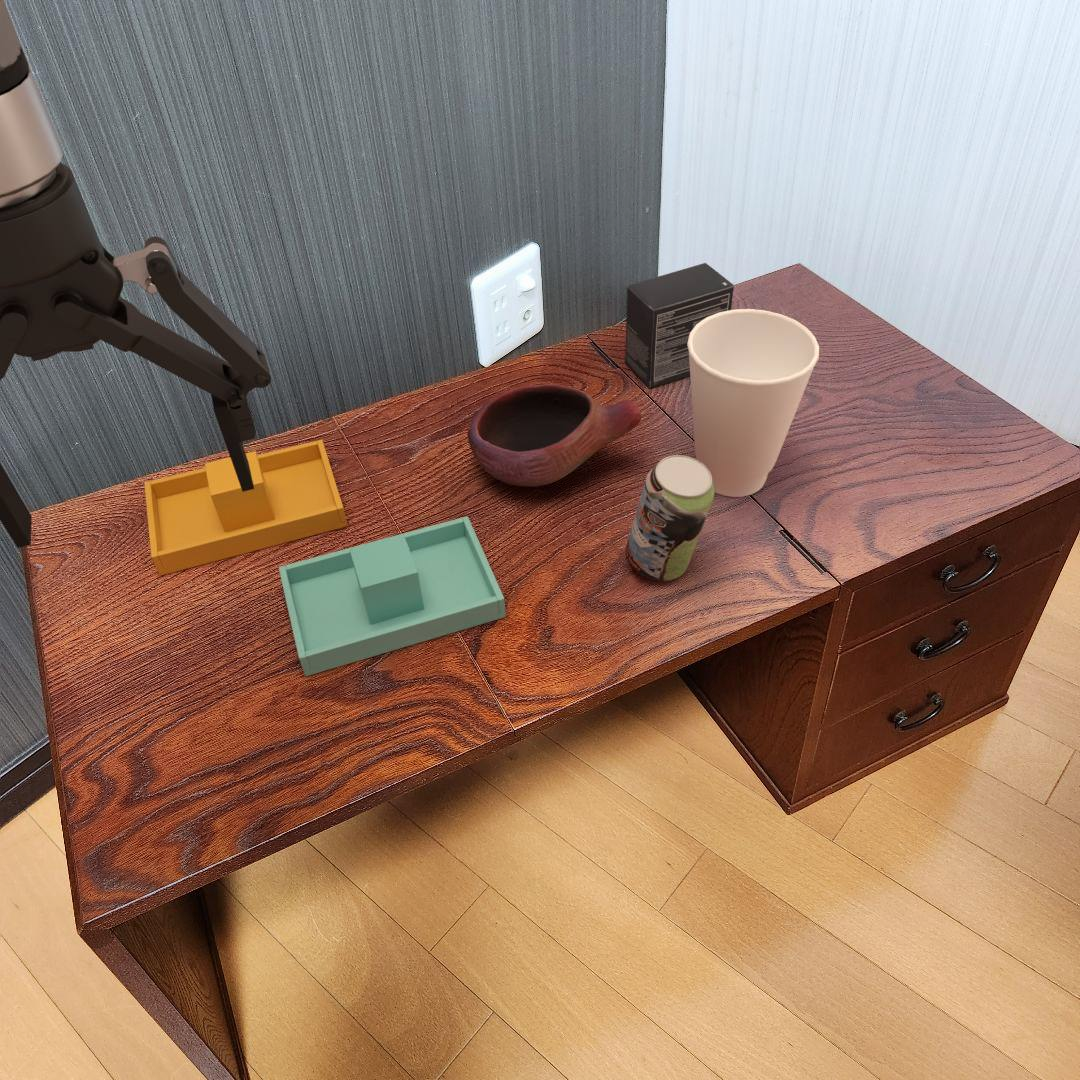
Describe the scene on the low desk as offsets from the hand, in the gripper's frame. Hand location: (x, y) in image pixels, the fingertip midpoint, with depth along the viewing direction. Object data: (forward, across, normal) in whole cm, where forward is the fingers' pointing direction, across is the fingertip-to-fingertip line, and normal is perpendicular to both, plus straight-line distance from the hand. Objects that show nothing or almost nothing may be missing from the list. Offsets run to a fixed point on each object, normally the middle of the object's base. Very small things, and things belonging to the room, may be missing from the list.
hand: (138, 504), depth 59 cm
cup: (+25, -52, -12) cm, 59 cm away
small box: (+25, -55, -32) cm, 68 cm away
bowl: (+25, -35, -21) cm, 48 cm away
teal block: (+24, -15, -8) cm, 29 cm away
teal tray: (+25, -15, -8) cm, 30 cm away
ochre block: (+24, -4, -25) cm, 35 cm away
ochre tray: (+25, -4, -25) cm, 35 cm away
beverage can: (+25, -40, -3) cm, 47 cm away
